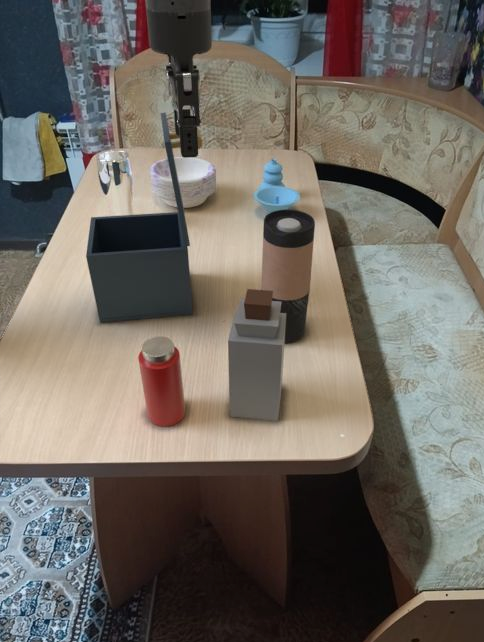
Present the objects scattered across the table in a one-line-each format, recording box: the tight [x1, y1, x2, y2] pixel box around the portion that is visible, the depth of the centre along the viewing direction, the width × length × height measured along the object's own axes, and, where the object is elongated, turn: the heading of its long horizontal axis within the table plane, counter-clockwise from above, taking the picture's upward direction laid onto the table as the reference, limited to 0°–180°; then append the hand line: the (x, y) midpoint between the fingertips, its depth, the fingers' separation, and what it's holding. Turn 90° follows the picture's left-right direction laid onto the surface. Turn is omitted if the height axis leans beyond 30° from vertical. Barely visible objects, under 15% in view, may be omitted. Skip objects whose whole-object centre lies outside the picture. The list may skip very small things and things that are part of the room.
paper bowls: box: [149, 156, 217, 209], centre depth 127 cm, size 15×15×8 cm
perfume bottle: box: [227, 288, 286, 422], centre depth 72 cm, size 7×7×18 cm
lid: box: [160, 112, 203, 247], centre depth 86 cm, size 16×14×5 cm
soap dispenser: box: [253, 158, 301, 214], centre depth 125 cm, size 18×10×9 cm, turn 5°
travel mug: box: [260, 209, 316, 344], centre depth 85 cm, size 8×8×20 cm
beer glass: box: [96, 149, 136, 216], centre depth 115 cm, size 7×7×15 cm
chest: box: [85, 211, 193, 324], centre depth 94 cm, size 16×14×13 cm
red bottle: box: [137, 336, 186, 428], centre depth 72 cm, size 5×5×12 cm
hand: (186, 145), depth 73 cm, fingers open, 8 cm apart
